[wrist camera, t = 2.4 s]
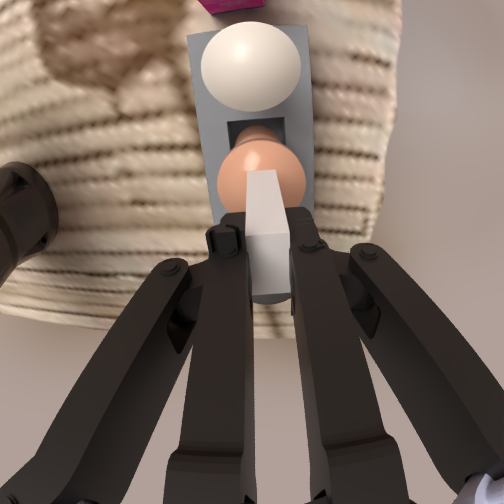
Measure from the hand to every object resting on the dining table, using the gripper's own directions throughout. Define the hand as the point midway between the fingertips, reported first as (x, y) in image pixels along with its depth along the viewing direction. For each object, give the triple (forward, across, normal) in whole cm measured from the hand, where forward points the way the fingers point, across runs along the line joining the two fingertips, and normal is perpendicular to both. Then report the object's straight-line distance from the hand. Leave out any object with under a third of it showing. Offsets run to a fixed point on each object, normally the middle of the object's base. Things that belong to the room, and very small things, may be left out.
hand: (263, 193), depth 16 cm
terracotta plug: (+10, 0, 0) cm, 10 cm away
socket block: (+17, 0, 0) cm, 17 cm away
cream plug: (+10, 0, +7) cm, 12 cm away
